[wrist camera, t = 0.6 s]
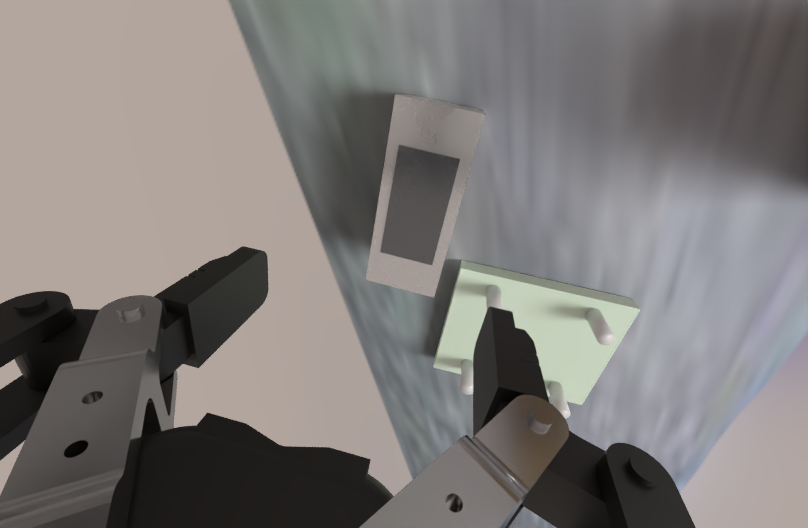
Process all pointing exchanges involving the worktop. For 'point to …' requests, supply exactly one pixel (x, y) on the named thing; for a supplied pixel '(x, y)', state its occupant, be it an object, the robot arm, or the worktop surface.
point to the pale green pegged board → (537, 327)
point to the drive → (421, 190)
